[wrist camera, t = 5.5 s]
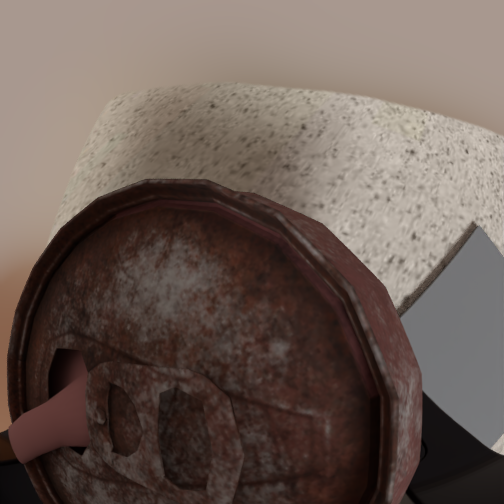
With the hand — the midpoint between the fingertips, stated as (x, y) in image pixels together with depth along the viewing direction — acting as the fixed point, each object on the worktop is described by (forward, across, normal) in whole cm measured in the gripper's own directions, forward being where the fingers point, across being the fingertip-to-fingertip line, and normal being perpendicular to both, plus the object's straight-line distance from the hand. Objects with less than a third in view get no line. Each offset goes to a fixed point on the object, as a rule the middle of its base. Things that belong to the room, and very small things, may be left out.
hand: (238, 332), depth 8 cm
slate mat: (+6, -17, +12) cm, 22 cm away
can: (+4, -2, +7) cm, 8 cm away
